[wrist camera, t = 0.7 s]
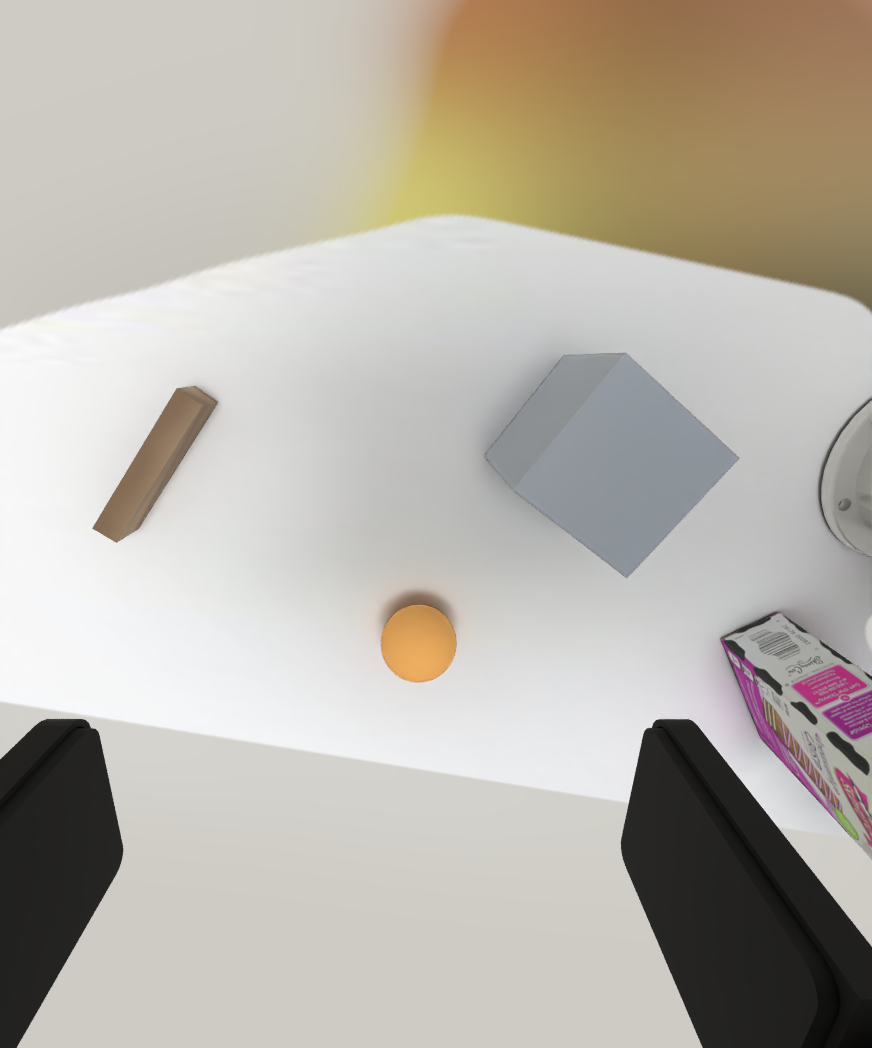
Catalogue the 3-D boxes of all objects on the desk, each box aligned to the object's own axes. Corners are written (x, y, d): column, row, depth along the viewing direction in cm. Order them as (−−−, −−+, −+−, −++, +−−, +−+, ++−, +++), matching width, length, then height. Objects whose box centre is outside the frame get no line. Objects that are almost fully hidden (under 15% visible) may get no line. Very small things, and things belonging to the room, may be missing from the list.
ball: (467, 616, 35) (476, 656, 30) (424, 665, 36) (427, 711, 31) (410, 578, 34) (411, 614, 29) (368, 630, 35) (362, 673, 30)
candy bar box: (714, 638, 37) (940, 840, 21) (777, 608, 36) (1056, 793, 21) (756, 741, 40) (977, 981, 25) (814, 715, 40) (1078, 942, 24)
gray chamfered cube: (651, 432, 32) (739, 458, 23) (571, 524, 33) (626, 578, 25) (563, 355, 30) (625, 352, 21) (483, 456, 31) (512, 490, 23)
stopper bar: (218, 402, 29) (201, 405, 27) (138, 529, 32) (116, 542, 29) (195, 386, 29) (176, 388, 27) (116, 515, 31) (92, 528, 29)
